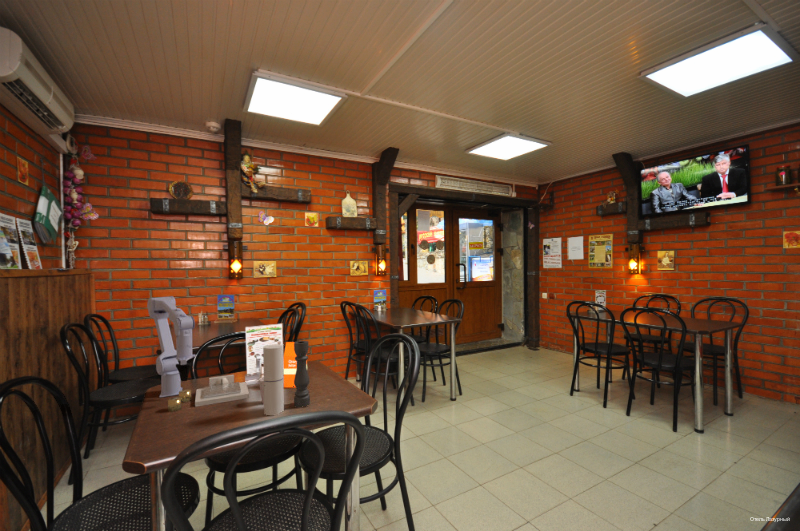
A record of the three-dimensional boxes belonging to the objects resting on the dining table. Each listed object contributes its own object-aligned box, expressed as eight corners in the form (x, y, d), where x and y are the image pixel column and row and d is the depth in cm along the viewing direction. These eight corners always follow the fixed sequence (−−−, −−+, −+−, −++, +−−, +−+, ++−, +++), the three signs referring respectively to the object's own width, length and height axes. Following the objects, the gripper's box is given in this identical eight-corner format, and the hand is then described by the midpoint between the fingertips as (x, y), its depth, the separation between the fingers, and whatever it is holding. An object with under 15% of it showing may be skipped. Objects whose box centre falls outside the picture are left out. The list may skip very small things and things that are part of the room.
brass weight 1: (168, 408, 143) (168, 398, 143) (181, 406, 145) (181, 396, 145) (167, 412, 139) (167, 402, 139) (180, 410, 141) (180, 400, 141)
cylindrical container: (272, 417, 133) (271, 349, 133) (260, 413, 137) (259, 347, 137) (287, 410, 139) (287, 345, 139) (275, 406, 143) (274, 343, 143)
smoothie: (269, 405, 144) (269, 370, 144) (255, 404, 145) (254, 369, 146) (278, 399, 150) (277, 366, 151) (264, 398, 152) (263, 365, 152)
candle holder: (295, 402, 147) (294, 340, 148) (311, 401, 148) (310, 340, 148) (292, 408, 141) (291, 344, 141) (308, 407, 142) (307, 343, 142)
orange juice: (302, 387, 166) (302, 343, 166) (283, 387, 166) (283, 343, 166) (307, 381, 174) (306, 340, 174) (289, 382, 174) (288, 340, 174)
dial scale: (196, 393, 160) (196, 379, 160) (245, 385, 169) (245, 372, 169) (195, 406, 144) (194, 391, 144) (249, 397, 153) (249, 383, 153)
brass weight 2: (179, 400, 152) (179, 390, 152) (191, 398, 154) (191, 388, 154) (178, 403, 148) (178, 393, 148) (190, 401, 150) (190, 391, 150)
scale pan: (204, 389, 159) (204, 387, 159) (239, 384, 165) (239, 381, 165) (203, 397, 148) (203, 395, 148) (240, 392, 154) (240, 389, 154)
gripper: (194, 347, 146) (195, 381, 146) (196, 341, 159) (196, 372, 159) (174, 349, 143) (174, 384, 143) (177, 343, 156) (177, 374, 156)
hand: (184, 378), depth 151 cm, fingers open, 7 cm apart
